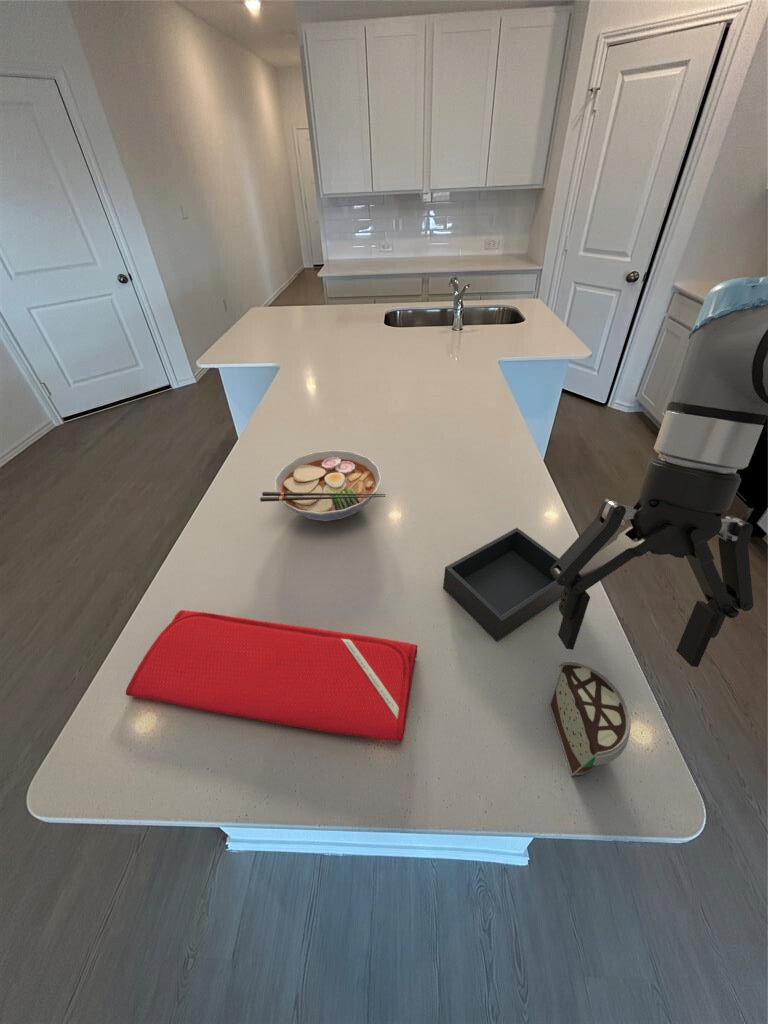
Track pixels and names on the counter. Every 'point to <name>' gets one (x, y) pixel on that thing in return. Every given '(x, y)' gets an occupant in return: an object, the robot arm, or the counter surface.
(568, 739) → the halved ice cream tub
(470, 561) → the bin
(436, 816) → the counter surface
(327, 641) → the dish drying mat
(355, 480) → the ramen bowl
